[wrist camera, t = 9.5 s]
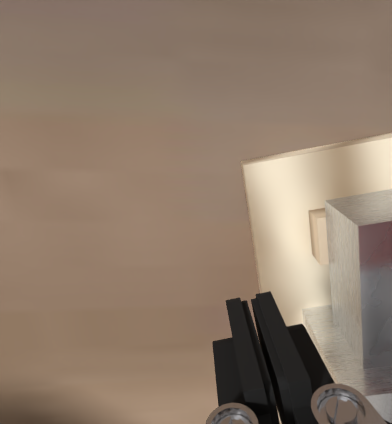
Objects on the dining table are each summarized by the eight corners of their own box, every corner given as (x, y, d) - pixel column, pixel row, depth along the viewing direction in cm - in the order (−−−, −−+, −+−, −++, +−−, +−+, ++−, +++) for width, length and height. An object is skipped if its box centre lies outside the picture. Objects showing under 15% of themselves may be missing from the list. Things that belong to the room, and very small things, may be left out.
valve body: (319, 477, 27) (358, 599, 20) (290, 197, 19) (337, 246, 12) (404, 468, 26) (473, 590, 20) (409, 176, 19) (525, 215, 12)
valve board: (288, 480, 29) (297, 520, 26) (240, 161, 20) (246, 170, 17) (423, 465, 28) (447, 506, 25) (437, 124, 19) (479, 127, 16)
